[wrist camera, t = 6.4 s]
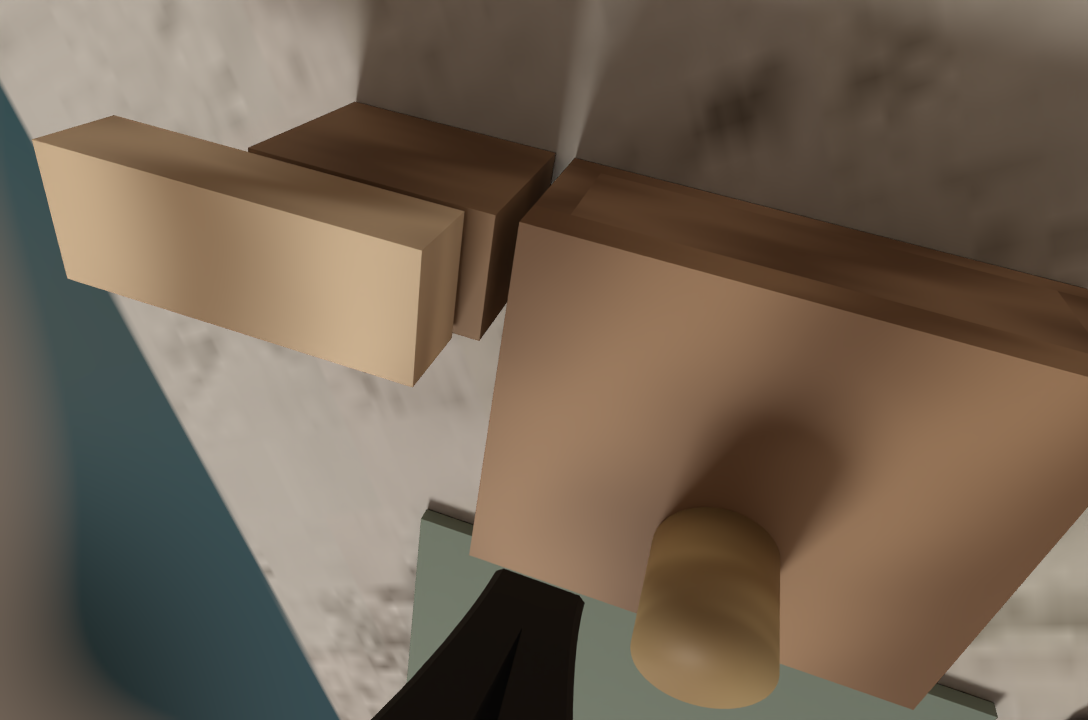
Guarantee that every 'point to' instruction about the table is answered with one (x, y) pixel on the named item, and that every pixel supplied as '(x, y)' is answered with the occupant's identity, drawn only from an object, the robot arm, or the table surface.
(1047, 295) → the open wooden box
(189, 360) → the table surface
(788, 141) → the table surface
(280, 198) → the block
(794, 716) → the mat
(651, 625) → the lid
